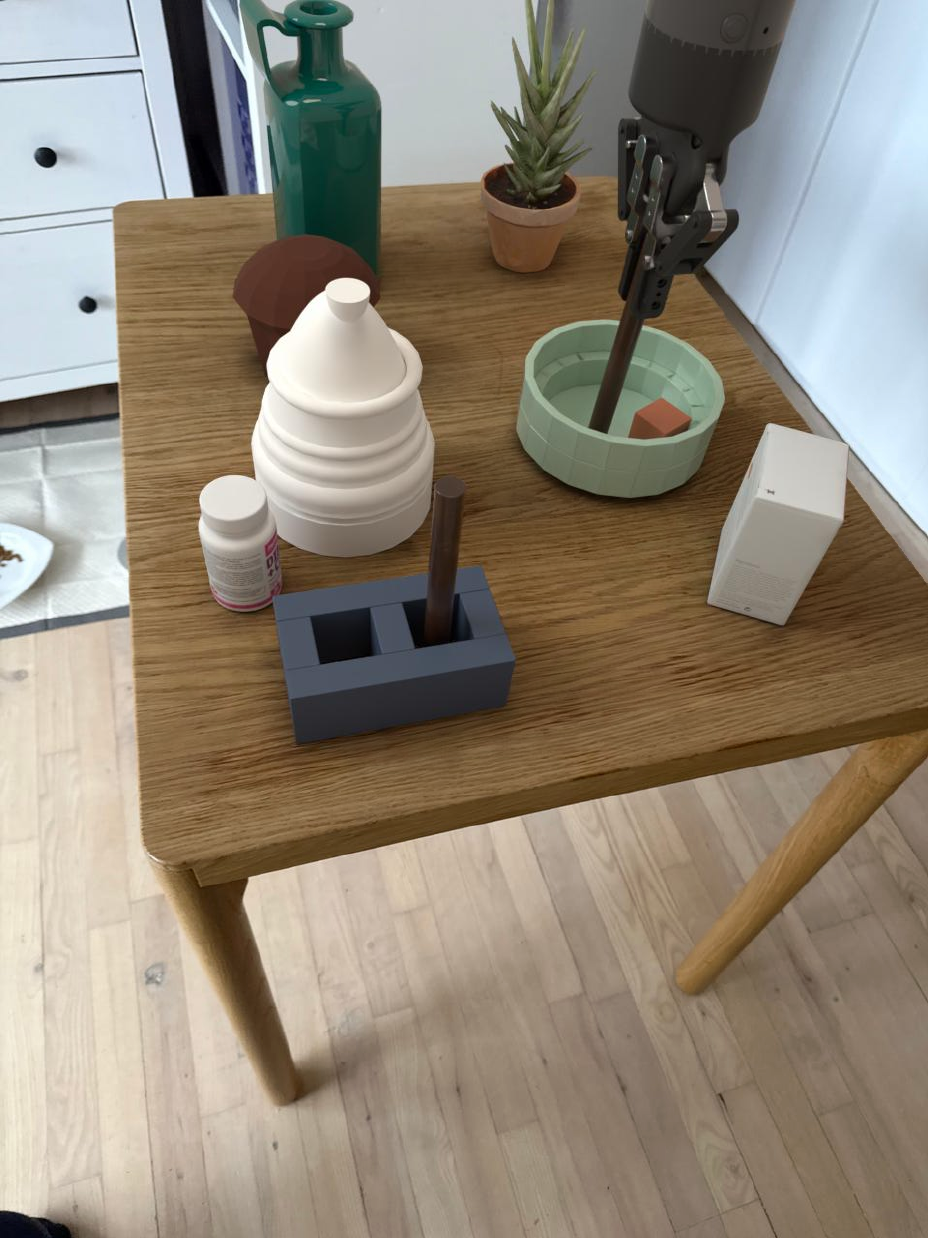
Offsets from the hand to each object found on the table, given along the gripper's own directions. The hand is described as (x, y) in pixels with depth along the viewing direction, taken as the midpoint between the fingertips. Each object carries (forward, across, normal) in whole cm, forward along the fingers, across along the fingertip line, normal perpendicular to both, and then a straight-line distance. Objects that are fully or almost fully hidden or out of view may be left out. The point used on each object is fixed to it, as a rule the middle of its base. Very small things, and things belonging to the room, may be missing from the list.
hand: (638, 305), depth 61 cm
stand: (+14, -17, +21) cm, 30 cm away
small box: (+14, -14, -7) cm, 21 cm away
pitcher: (+14, +30, +17) cm, 37 cm away
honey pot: (+14, -1, +20) cm, 25 cm away
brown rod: (+11, 0, +1) cm, 11 cm away
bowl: (+14, +2, -2) cm, 14 cm away
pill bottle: (+14, -8, +29) cm, 33 cm away
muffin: (+14, +16, +20) cm, 30 cm away
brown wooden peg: (+14, -17, +18) cm, 28 cm away
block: (+13, 0, -4) cm, 14 cm away
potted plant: (+14, +30, -3) cm, 33 cm away
